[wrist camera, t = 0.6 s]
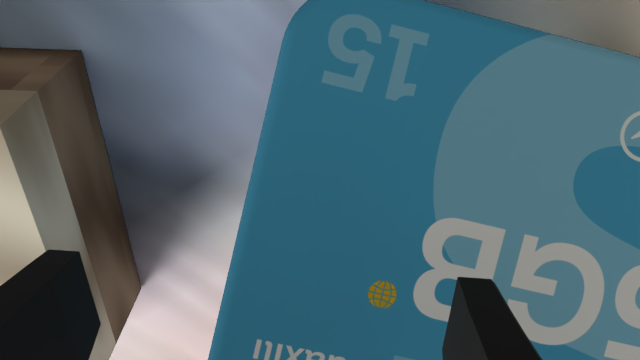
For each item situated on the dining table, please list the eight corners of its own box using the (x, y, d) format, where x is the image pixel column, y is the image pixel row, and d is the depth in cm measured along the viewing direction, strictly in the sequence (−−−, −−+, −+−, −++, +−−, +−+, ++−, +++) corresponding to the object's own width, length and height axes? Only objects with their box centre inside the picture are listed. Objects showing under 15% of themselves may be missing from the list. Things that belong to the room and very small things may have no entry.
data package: (784, 92, 14) (649, 555, 14) (661, 103, 18) (563, 454, 19) (299, -36, 13) (183, 463, 14) (297, 9, 17) (209, 381, 18)
